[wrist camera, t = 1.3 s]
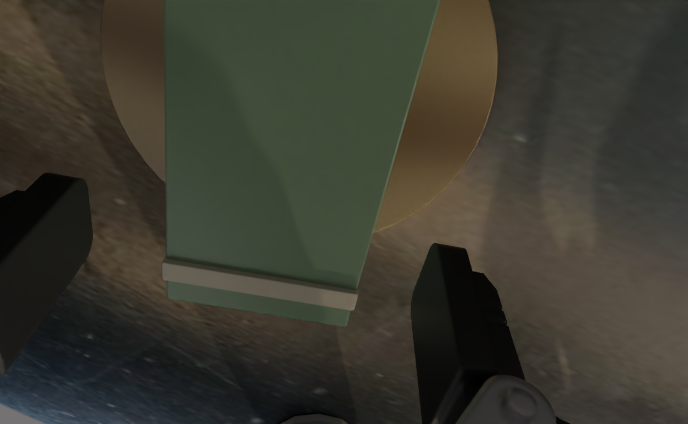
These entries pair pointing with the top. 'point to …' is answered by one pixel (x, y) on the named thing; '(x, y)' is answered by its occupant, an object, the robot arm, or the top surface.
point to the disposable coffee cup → (314, 420)
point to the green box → (282, 146)
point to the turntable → (422, 120)
